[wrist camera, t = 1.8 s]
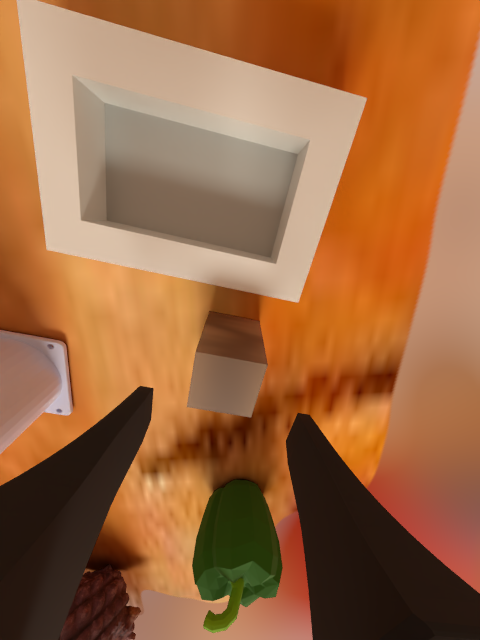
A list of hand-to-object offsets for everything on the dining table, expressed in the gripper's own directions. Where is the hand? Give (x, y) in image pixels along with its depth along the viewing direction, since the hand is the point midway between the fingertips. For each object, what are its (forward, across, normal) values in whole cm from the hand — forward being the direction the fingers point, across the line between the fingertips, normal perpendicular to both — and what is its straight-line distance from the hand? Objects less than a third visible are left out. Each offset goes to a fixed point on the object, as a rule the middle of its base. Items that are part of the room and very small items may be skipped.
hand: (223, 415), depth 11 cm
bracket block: (+8, 0, 0) cm, 8 cm away
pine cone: (+8, +12, +42) cm, 44 cm away
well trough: (+8, +4, -10) cm, 14 cm away
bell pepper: (+8, -5, +20) cm, 22 cm away
